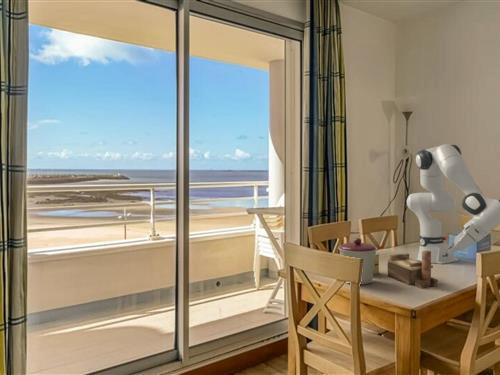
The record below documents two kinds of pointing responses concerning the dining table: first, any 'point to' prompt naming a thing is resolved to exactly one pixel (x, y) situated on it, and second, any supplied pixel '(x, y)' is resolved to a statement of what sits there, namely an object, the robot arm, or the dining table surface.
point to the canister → (363, 252)
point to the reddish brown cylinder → (426, 268)
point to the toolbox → (408, 276)
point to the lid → (405, 261)
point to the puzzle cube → (376, 265)
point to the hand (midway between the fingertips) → (448, 251)
